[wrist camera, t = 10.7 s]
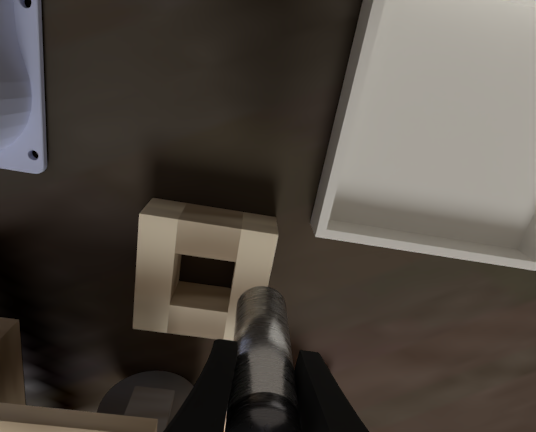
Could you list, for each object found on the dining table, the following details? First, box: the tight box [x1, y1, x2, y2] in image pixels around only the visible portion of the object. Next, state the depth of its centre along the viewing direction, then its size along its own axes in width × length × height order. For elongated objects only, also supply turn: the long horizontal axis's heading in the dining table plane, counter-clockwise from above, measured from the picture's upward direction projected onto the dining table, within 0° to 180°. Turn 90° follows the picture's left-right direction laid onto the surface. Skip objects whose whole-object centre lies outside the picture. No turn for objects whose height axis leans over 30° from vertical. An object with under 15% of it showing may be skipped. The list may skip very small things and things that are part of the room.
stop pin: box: [225, 286, 301, 432], centre depth 12 cm, size 2×2×6 cm
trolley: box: [0, 317, 194, 432], centre depth 21 cm, size 9×14×7 cm, turn 80°
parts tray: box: [310, 0, 536, 271], centre depth 18 cm, size 13×13×2 cm
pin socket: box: [133, 198, 278, 341], centre depth 21 cm, size 7×7×2 cm
